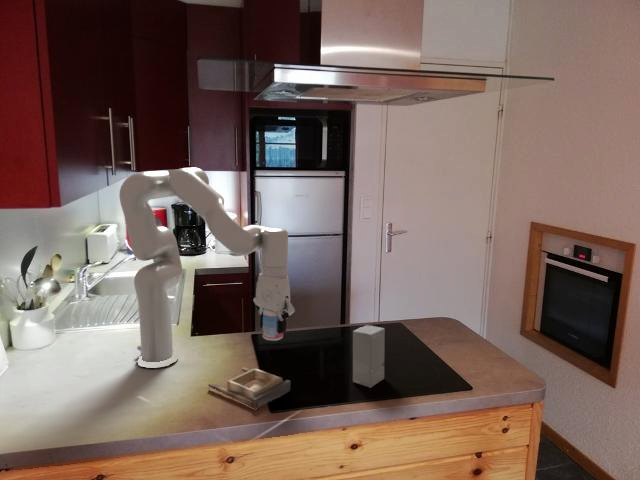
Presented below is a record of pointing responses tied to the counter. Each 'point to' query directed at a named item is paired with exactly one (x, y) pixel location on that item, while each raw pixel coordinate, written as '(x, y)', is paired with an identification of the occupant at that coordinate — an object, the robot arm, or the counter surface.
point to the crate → (255, 374)
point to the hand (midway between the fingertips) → (273, 328)
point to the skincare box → (368, 355)
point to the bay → (257, 400)
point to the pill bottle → (271, 325)
